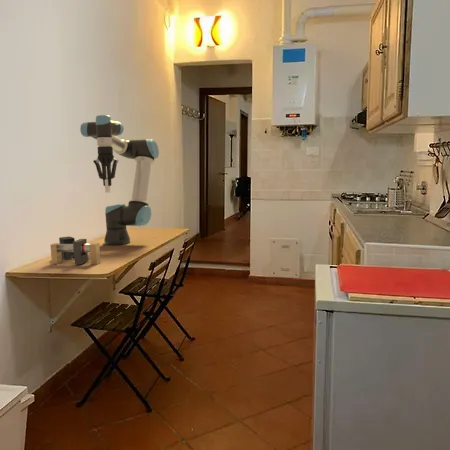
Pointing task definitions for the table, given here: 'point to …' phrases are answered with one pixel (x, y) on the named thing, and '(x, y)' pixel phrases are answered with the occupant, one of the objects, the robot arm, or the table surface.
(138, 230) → the table surface
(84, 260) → the collar
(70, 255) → the box
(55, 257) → the pipe
